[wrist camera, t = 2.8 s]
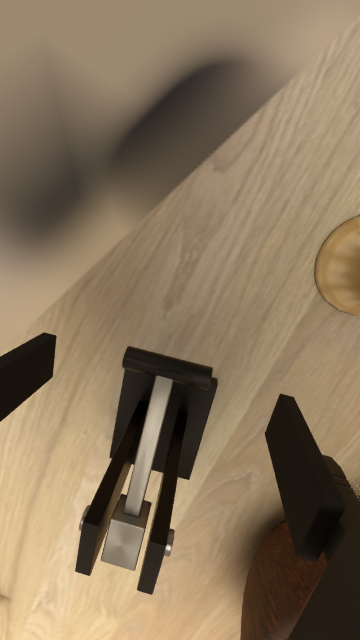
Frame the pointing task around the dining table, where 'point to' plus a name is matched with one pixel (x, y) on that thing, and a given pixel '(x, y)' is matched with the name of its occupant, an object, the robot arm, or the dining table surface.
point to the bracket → (170, 458)
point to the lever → (146, 451)
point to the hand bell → (341, 268)
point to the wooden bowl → (277, 587)
